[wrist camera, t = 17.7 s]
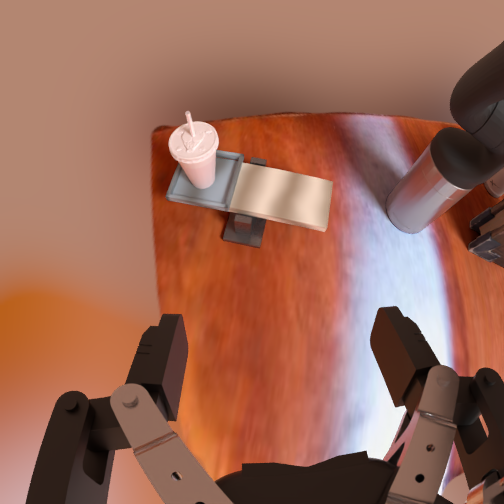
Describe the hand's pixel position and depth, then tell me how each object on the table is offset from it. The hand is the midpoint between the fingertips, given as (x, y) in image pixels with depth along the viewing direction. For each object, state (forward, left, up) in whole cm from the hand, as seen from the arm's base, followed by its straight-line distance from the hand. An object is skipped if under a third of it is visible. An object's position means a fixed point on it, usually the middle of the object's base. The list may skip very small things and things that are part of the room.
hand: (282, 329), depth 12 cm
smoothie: (-11, -22, -27) cm, 37 cm away
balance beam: (-15, -16, -29) cm, 36 cm away
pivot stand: (-15, -16, -34) cm, 40 cm away
